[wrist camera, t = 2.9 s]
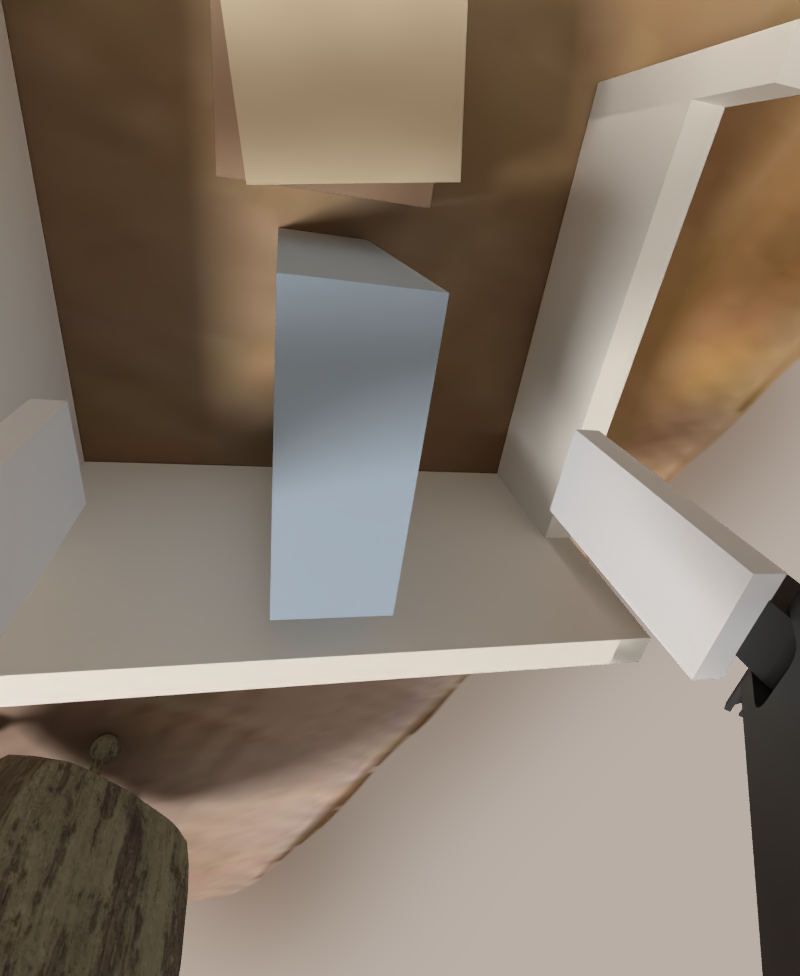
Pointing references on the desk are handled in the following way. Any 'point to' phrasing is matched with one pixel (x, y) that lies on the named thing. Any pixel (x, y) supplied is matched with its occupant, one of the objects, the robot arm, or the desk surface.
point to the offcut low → (230, 146)
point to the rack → (438, 495)
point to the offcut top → (348, 89)
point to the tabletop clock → (86, 873)
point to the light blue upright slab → (346, 421)
